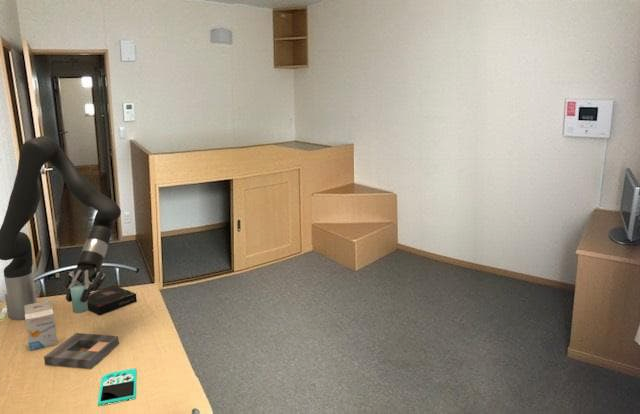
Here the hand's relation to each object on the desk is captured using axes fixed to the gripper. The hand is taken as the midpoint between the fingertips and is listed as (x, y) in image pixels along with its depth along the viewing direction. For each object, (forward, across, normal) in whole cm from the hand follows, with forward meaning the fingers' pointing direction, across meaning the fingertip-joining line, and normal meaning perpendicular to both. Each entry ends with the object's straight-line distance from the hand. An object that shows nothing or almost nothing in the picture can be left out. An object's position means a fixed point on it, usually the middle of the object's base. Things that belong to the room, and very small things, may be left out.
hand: (75, 301), depth 157 cm
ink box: (+11, -17, +15) cm, 25 cm away
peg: (+1, 0, +4) cm, 5 cm away
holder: (+14, +1, +12) cm, 19 cm away
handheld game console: (+26, +23, +2) cm, 35 cm away
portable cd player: (-14, -14, +40) cm, 45 cm away
